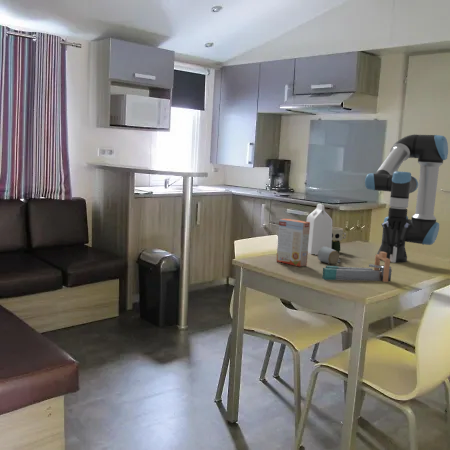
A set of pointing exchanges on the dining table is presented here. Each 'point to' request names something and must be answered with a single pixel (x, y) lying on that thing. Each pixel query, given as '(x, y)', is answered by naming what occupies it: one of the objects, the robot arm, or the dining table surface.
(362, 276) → the ball-hinged grey bar
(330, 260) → the ceramic mug
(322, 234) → the milk
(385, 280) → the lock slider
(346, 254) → the dining table surface
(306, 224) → the cracker box
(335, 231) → the character mug
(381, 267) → the block
